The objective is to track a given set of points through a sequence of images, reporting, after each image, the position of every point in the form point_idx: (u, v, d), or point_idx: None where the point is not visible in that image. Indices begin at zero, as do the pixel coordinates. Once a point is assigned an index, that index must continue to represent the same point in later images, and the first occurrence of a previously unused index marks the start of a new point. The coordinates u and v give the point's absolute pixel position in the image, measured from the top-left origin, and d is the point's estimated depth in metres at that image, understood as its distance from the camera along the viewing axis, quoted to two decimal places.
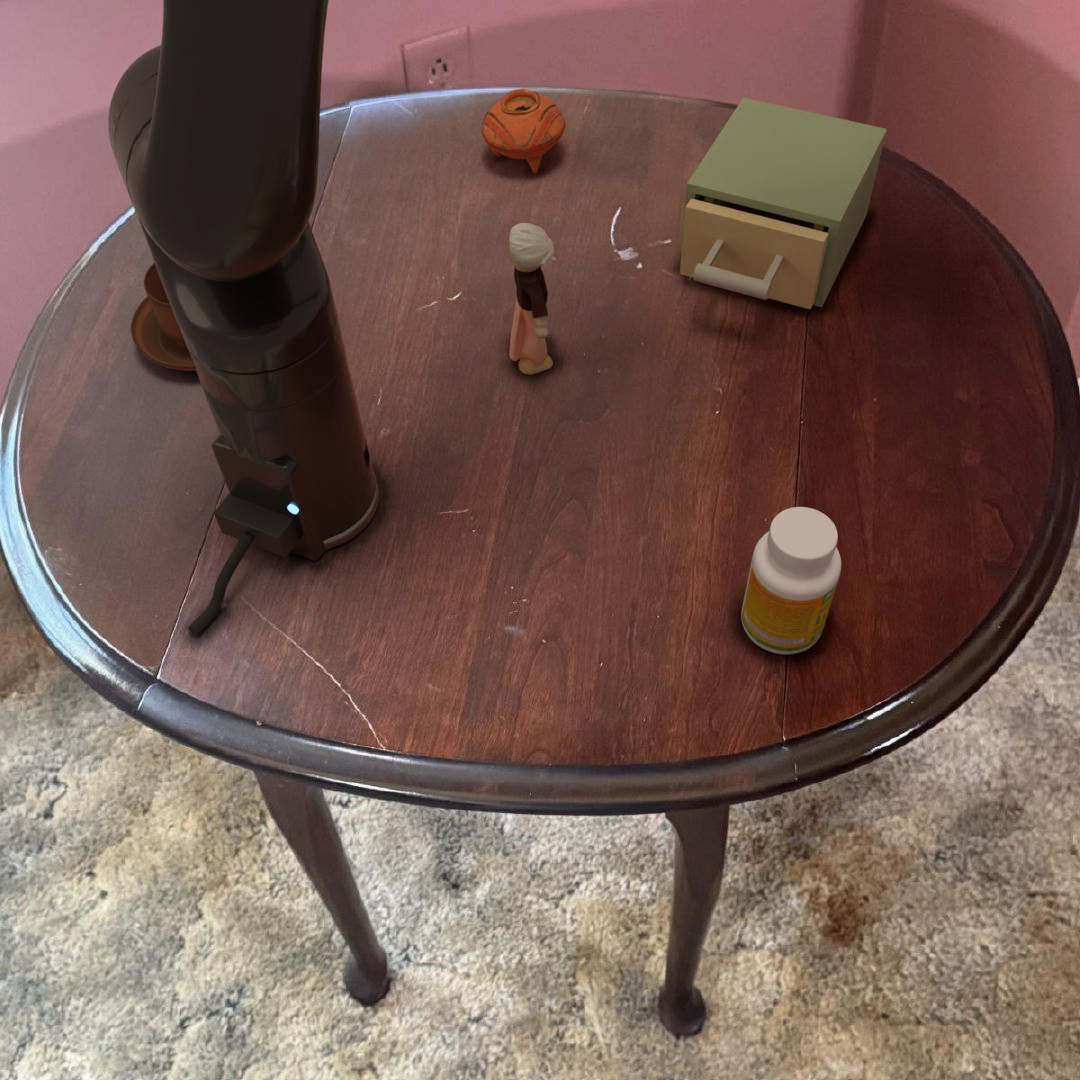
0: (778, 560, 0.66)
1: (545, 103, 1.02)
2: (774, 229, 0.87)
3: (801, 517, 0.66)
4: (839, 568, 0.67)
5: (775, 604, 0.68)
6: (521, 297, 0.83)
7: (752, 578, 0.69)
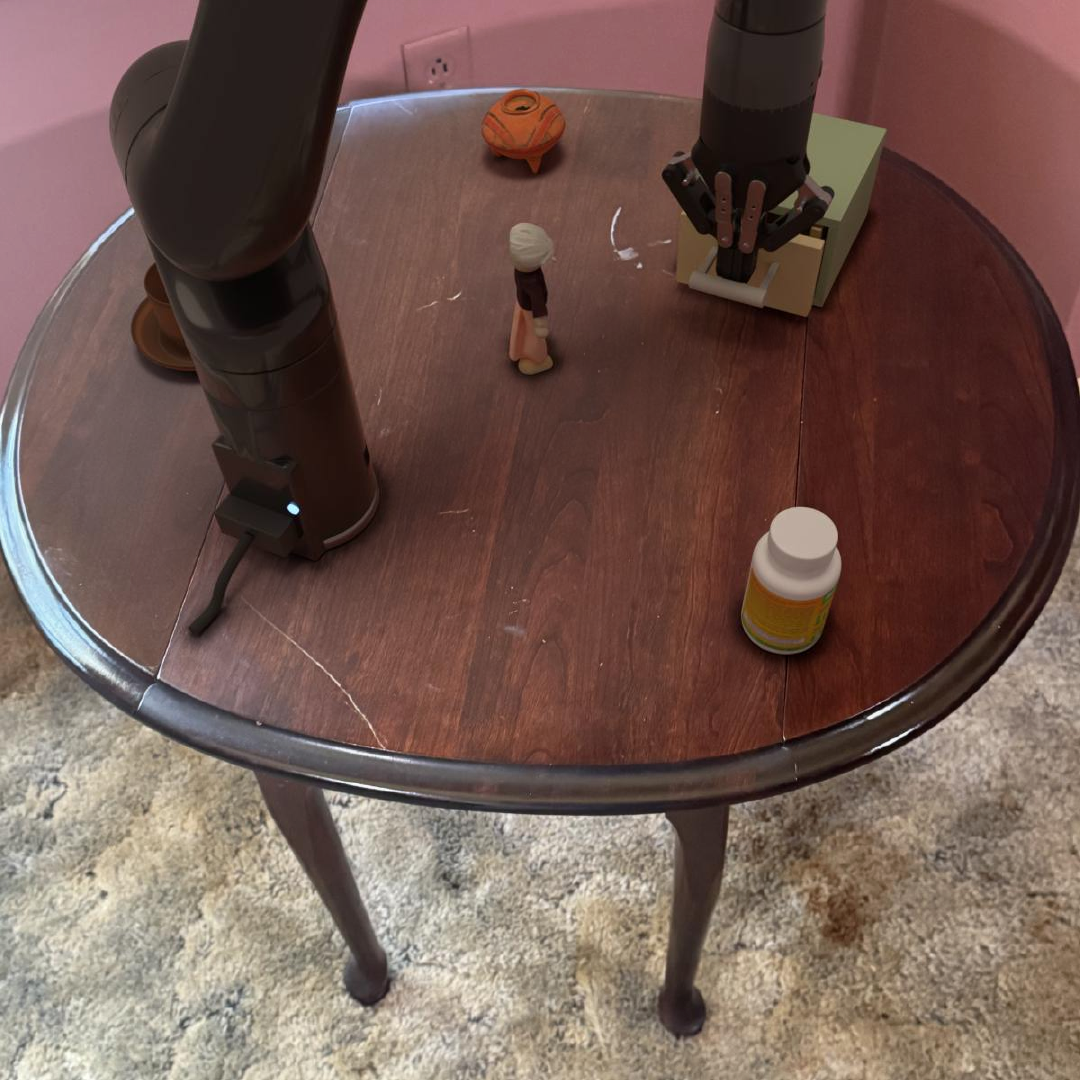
0: (778, 560, 0.66)
1: (545, 103, 1.02)
2: None
3: (801, 517, 0.66)
4: (839, 568, 0.67)
5: (775, 604, 0.68)
6: (521, 297, 0.83)
7: (752, 578, 0.69)
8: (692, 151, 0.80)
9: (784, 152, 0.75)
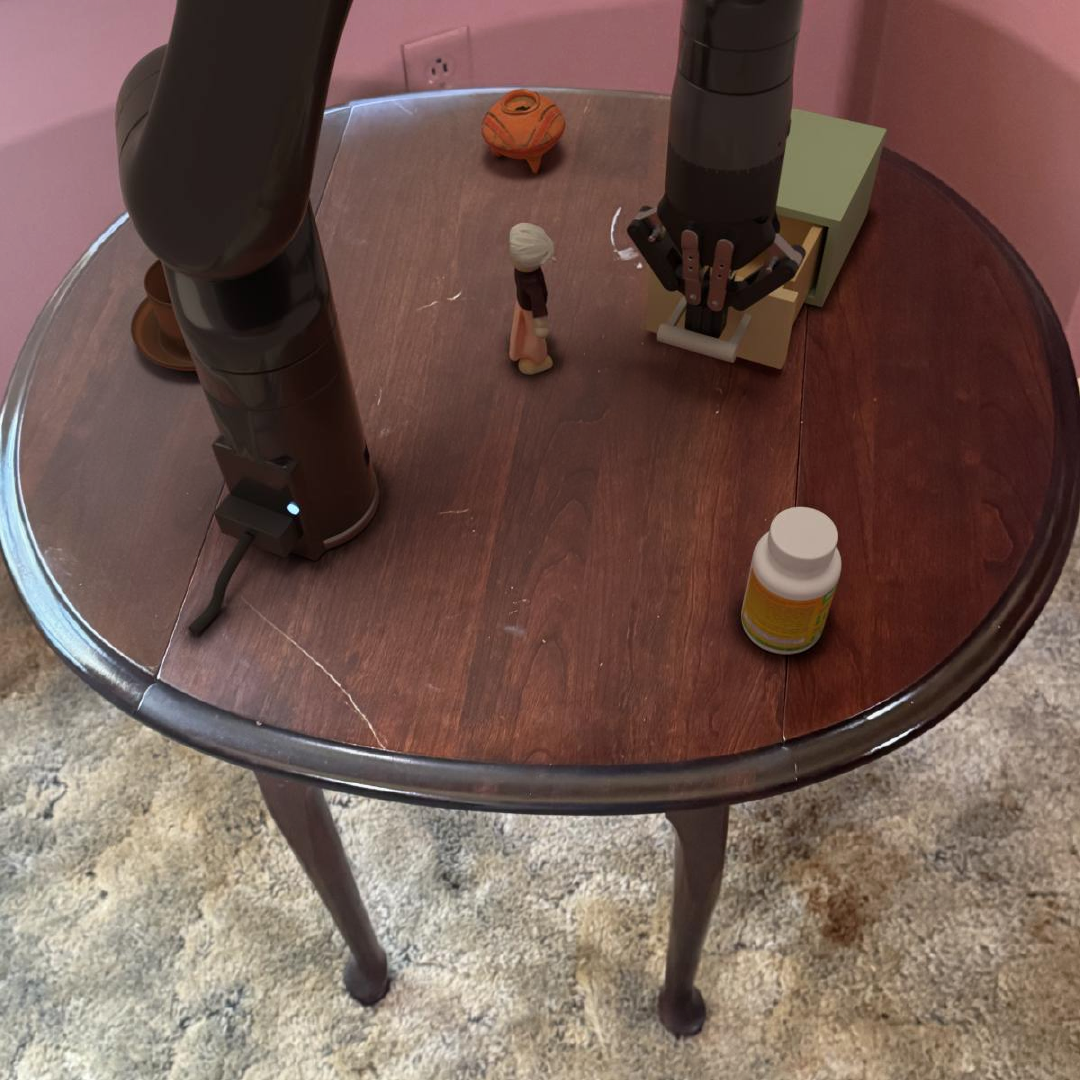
0: (779, 560, 0.66)
1: (545, 103, 1.02)
2: None
3: (801, 517, 0.66)
4: (839, 568, 0.67)
5: (775, 604, 0.68)
6: (521, 297, 0.83)
7: (752, 578, 0.69)
8: (658, 207, 0.76)
9: (751, 213, 0.71)
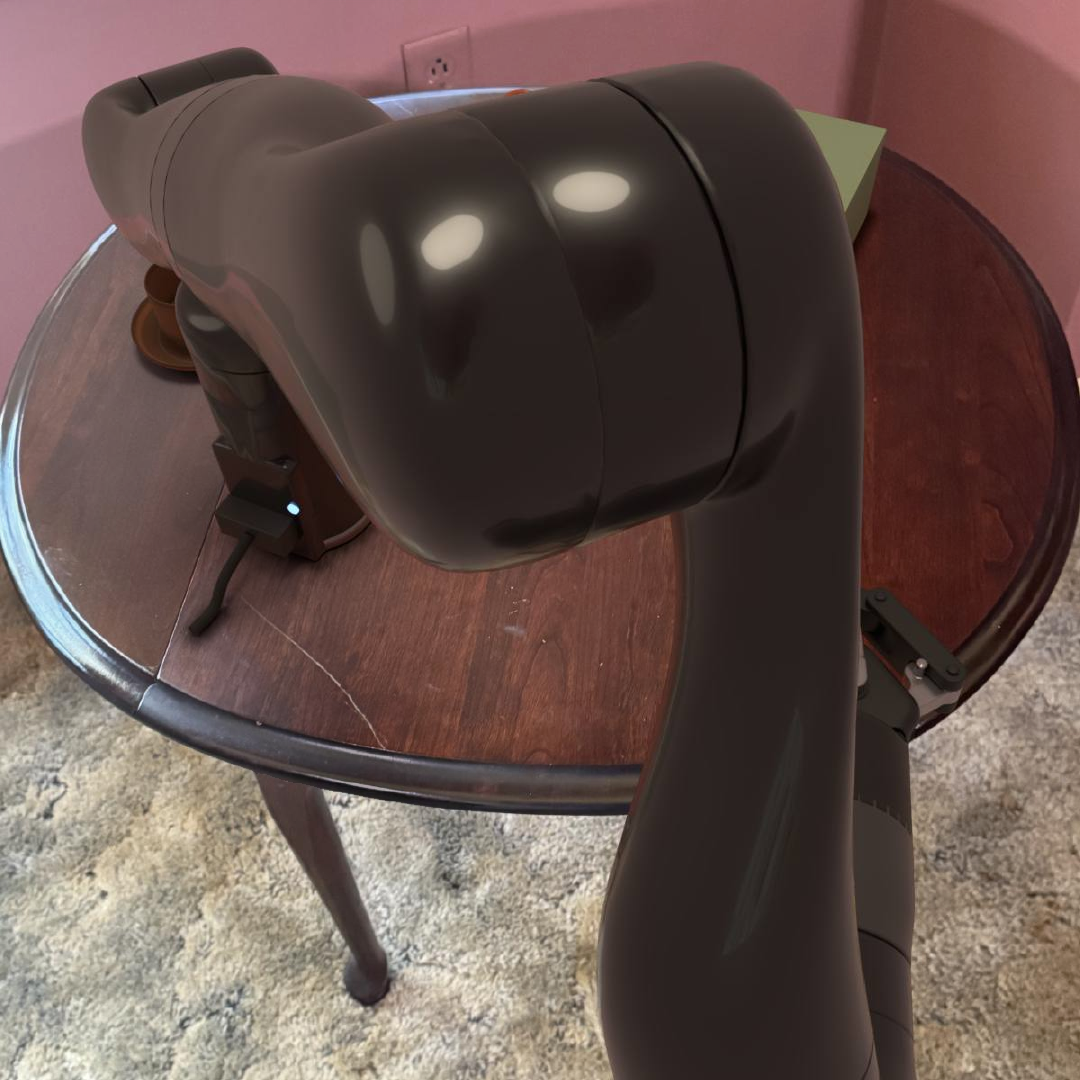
0: None
1: None
2: None
3: None
4: None
5: None
6: None
7: None
8: (916, 714, 0.47)
9: None
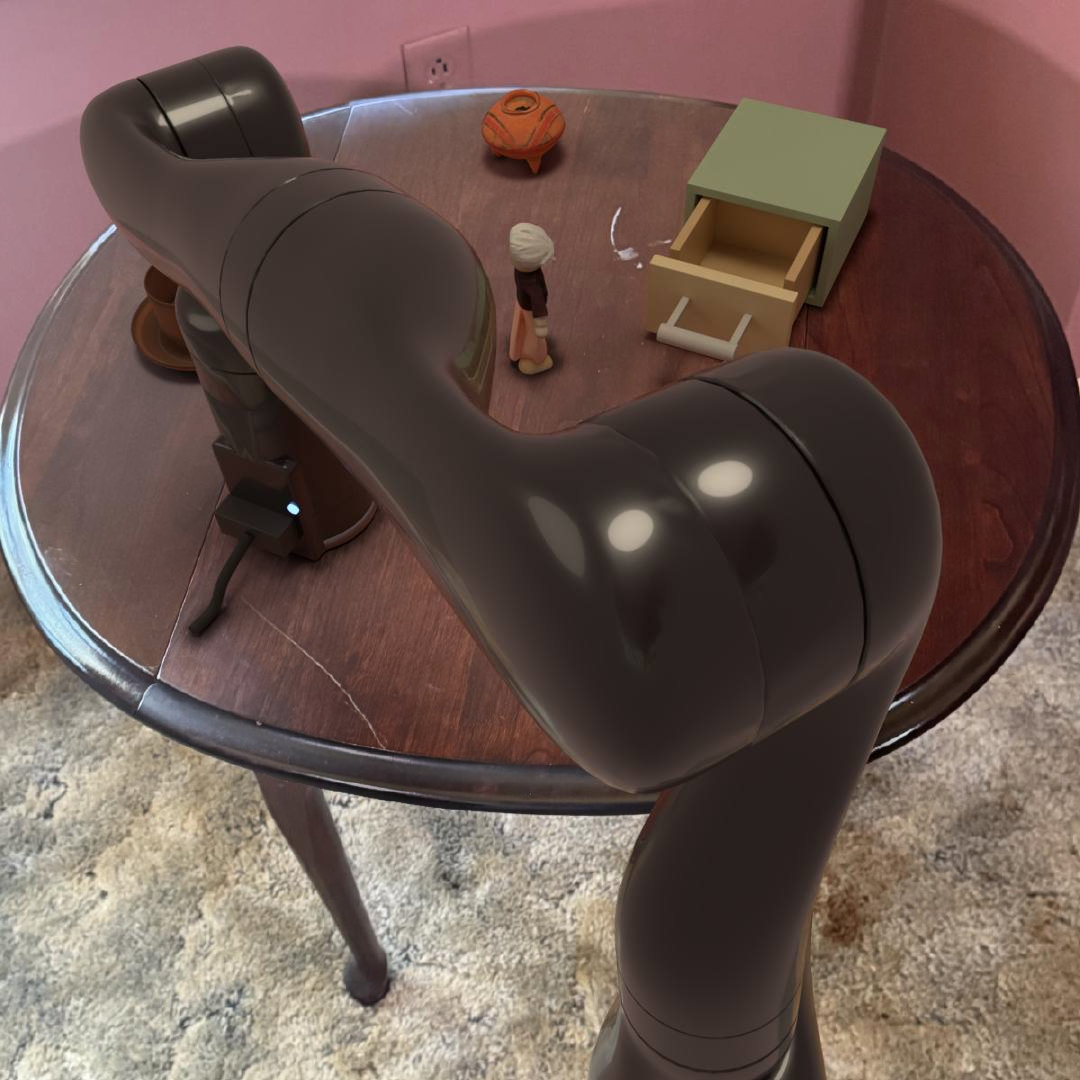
0: None
1: (545, 103, 1.02)
2: (741, 288, 0.83)
3: None
4: None
5: None
6: (521, 297, 0.83)
7: None
8: None
9: None
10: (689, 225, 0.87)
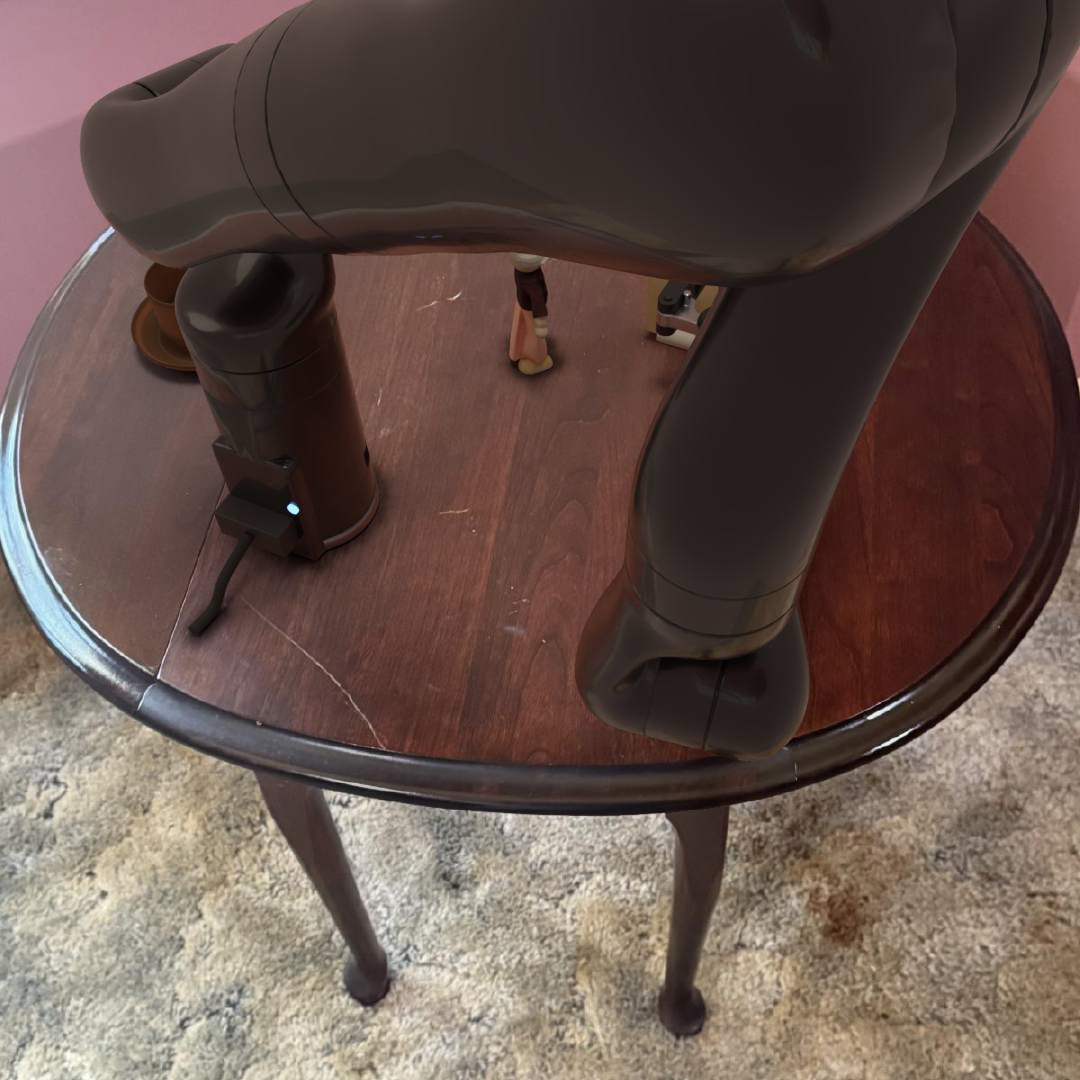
0: None
1: None
2: None
3: None
4: None
5: None
6: (521, 297, 0.83)
7: None
8: None
9: None
10: None
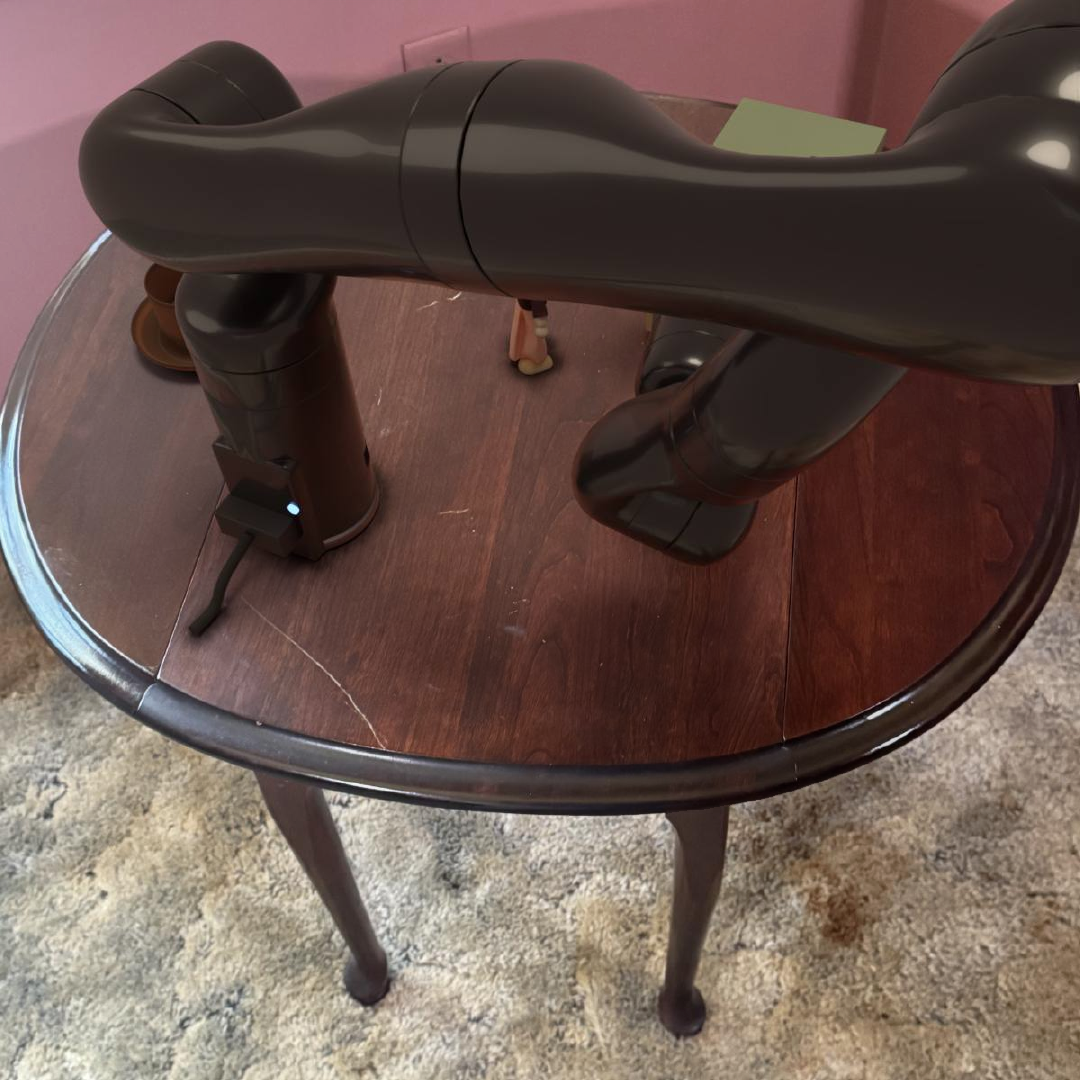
0: None
1: None
2: None
3: None
4: None
5: None
6: None
7: None
8: None
9: None
10: None
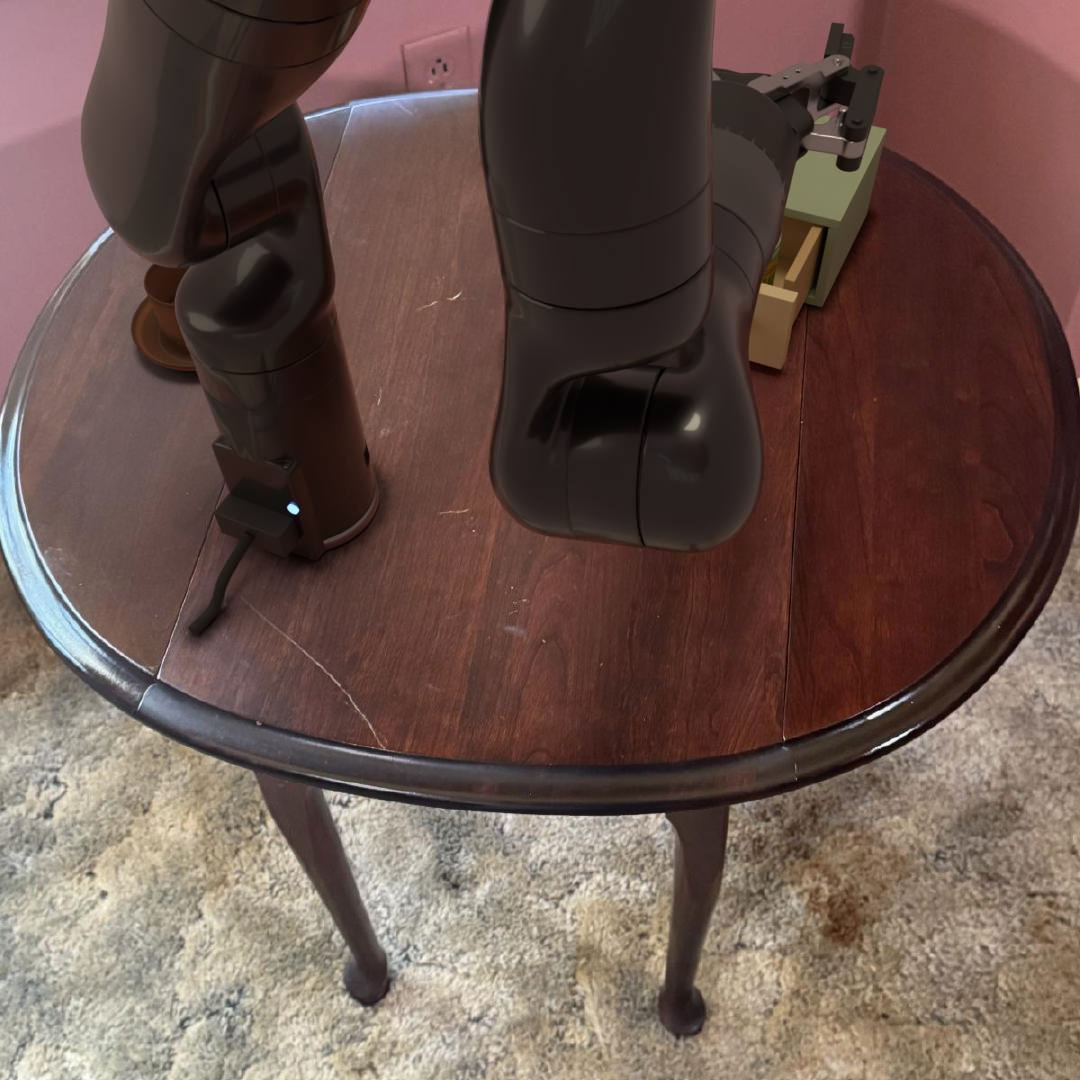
0: None
1: None
2: None
3: None
4: None
5: None
6: None
7: None
8: (810, 123, 0.55)
9: None
10: None
